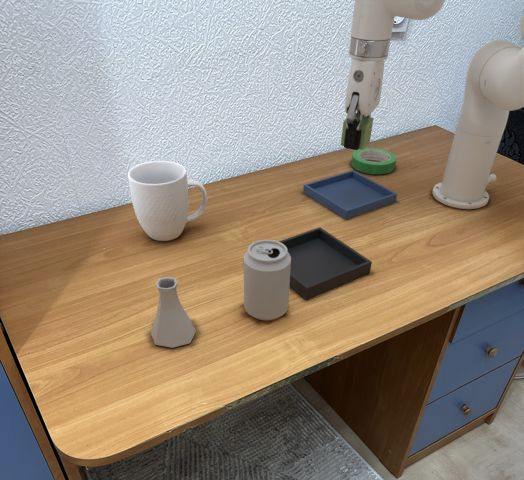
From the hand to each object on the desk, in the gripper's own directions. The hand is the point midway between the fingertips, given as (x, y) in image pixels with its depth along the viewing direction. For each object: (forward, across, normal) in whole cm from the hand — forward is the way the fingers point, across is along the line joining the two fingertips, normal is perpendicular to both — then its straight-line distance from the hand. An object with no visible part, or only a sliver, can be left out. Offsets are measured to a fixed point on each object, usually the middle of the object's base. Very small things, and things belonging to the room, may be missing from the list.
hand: (355, 143), depth 109 cm
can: (+13, -46, -1) cm, 48 cm away
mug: (+13, -32, +28) cm, 44 cm away
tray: (+13, +1, 0) cm, 13 cm away
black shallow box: (+13, -30, -3) cm, 33 cm away
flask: (+13, -58, +10) cm, 60 cm away
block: (0, 0, 0) cm, 0 cm away
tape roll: (+13, +20, 0) cm, 24 cm away
